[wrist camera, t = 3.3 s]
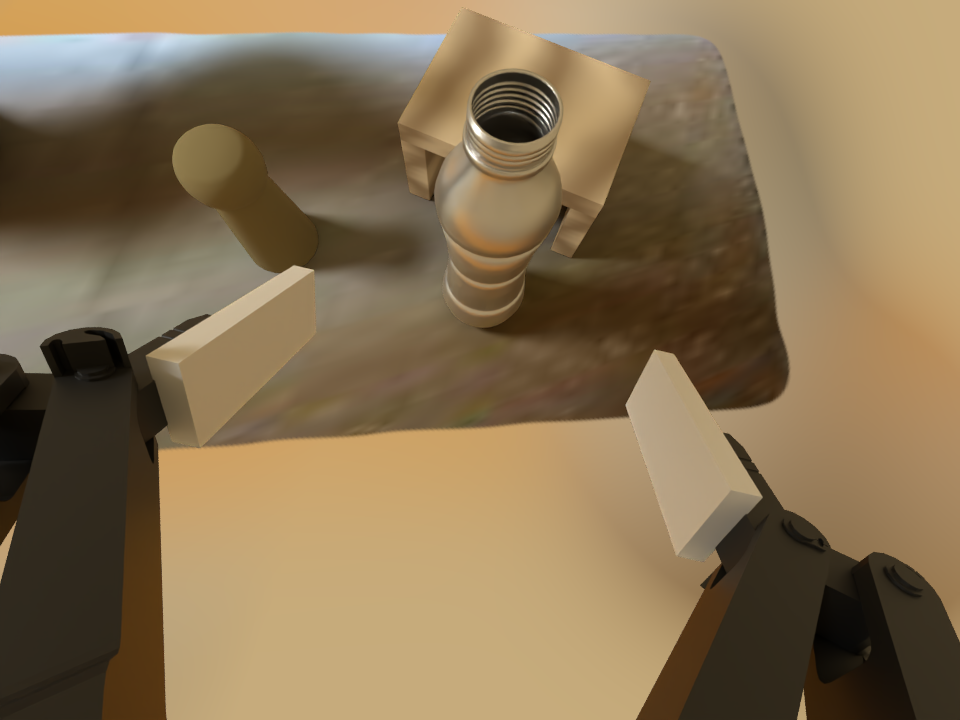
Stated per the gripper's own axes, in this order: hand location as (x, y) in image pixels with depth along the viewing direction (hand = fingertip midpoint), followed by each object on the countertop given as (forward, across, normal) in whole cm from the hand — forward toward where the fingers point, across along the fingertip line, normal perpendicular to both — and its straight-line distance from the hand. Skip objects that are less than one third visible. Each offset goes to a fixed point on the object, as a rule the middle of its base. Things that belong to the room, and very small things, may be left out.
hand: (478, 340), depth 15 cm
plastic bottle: (+19, -1, -6) cm, 20 cm away
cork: (+20, -19, -6) cm, 28 cm away
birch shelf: (+28, 0, +3) cm, 28 cm away
